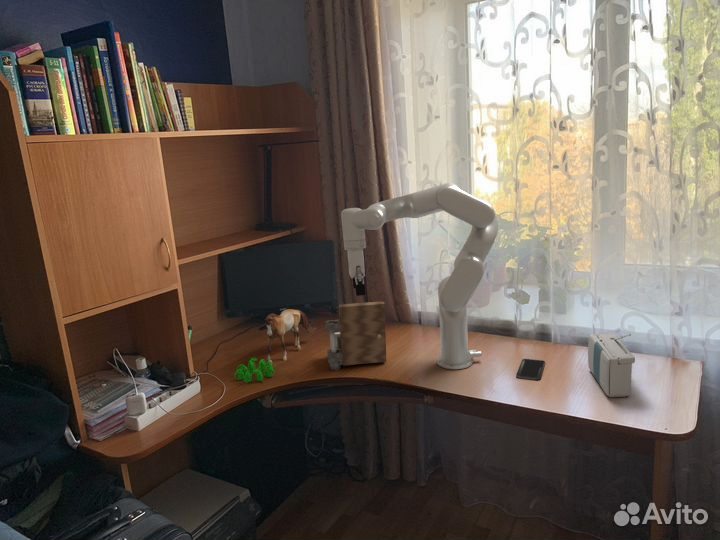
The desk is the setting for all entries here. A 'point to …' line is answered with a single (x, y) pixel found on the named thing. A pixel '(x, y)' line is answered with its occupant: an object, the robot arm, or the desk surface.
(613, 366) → the stereo radio cassette player
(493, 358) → the desk surface
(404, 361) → the desk surface
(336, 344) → the cabinet
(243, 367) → the green lumpy cluster
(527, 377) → the phone
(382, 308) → the walnut door
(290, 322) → the horse figurine
